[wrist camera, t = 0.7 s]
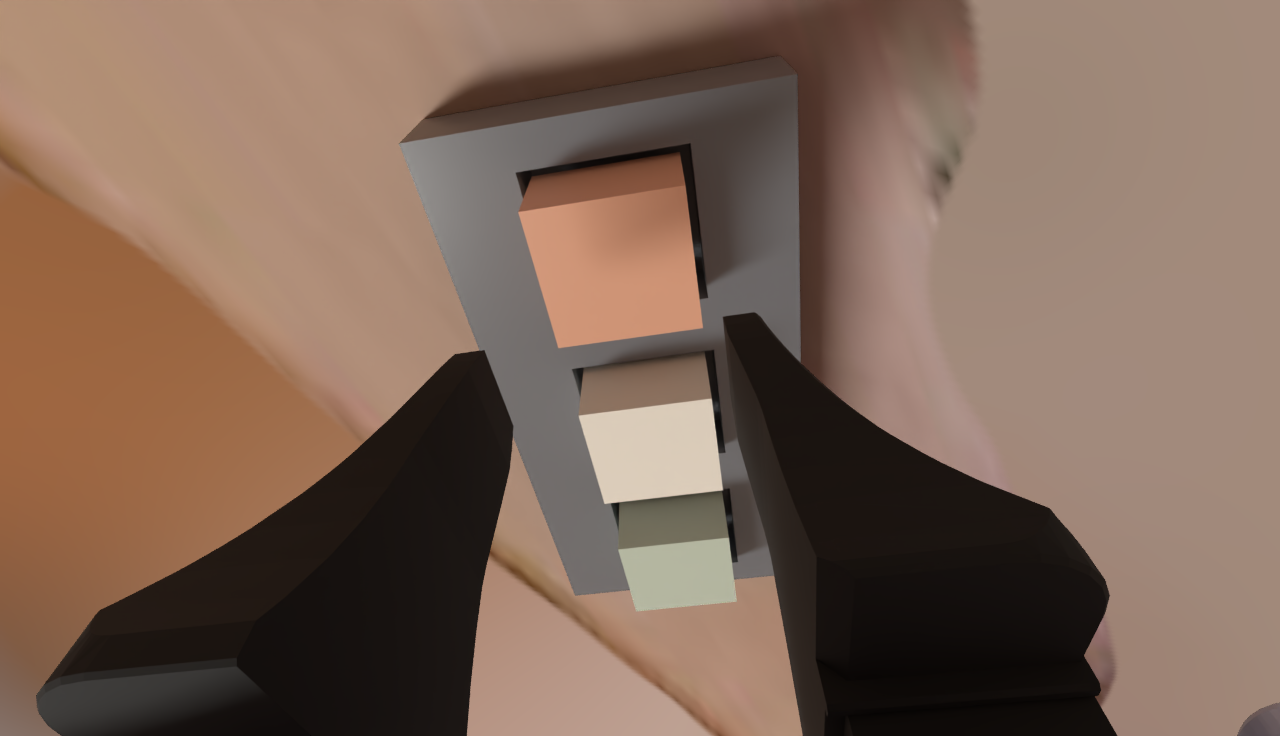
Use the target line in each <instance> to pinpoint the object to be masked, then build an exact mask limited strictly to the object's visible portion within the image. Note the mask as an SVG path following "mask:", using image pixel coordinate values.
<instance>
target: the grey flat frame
mask: <svg viewBox="0 0 1280 736" xmlns="http://www.w3.org/2000/svg"><path fill="white" fill-rule="evenodd" d="M399 145H400V147H401V150H402V153H403V155H404V158H405V160H406V163H407V165H408V168H409V170H410V173H411V176H412V178H413V181H414V183H415V186H416V188H417V191H418V194H419V196H420V199H421V201H422V204H423V206H424V209H425V212H426V214H427V217H428V219H429V222H430V224H431V227H432V229H433V232H434V235H435V237H436V240H437V242H438V245H439V247H440V250H441V253H442V255H443V258H444V260H445V263H446V265H447V268H448V271H449V273H450V276H451V278H452V281H453V283H454V286H455V288H456V291H457V294H458V296H459V299H460V301H461V304H462V306H463V309H464V312H465V314H466V317H467V319H468V322H469V324H470V327H471V329H472V332H473V335H474V337H475V340H476V342H477V345H478V347H479V350H480V351H481V350H485V353H486V356H487V358H488V361H489V363H490V366H491V369H492V371H493V374H494V376H495V379H496V382H497V384H498V387H499V389H500V392H501V395H502V397H503V400H504V402H505V405H506V408H507V410H508V413H509V415H510V418H511V421H512V423H513V426H514V427H513V437H514V440H515V442H516V445H517V447H518V450H519V453H520V455H521V458H522V460H523V463H524V465H525V468H526V471H527V473H528V476H529V478H530V481H531V483H532V486H533V489H534V491H535V494H536V496H537V499H538V501H539V504H540V506H541V509H542V512H543V514H544V517H545V519H546V522H547V524H548V527H549V530H550V532H551V535H552V537H553V540H554V542H555V545H556V547H557V550H558V553H559V555H560V558H561V560H562V563H563V565H564V568H565V571H566V573H567V576H568V578H569V581H570V583H571V586H572V589H573V591H574V594H575V596H576V595H586V594H596V593H606V592H616V591H626V590H630V588H629V585H628V581H627V578H626V575H625V571H624V568H623V564H622V561H621V558H620V554H619V551H618V534H619V502H617V503H608V504H604V500H603V497H602V494H601V490H600V487H599V483H598V480H597V477H596V473H595V470H594V467H593V463H592V460H591V456H590V453H589V450H588V446H587V443H586V439H585V436H584V433H583V429H582V426H581V423H580V419H579V416H578V415H579V406H580V397H581V388H582V379H583V370H584V368H585V367H593V366H600V365H607V364H615V363H622V362H629V361H637V360H644V359H651V358H659V357H666V356H674V355H681V354H688V353H696V352H703V351H704V352H705V358H706V365H707V371H708V378H709V384H710V391H711V397H712V405H713V413H714V421H715V429H716V438H717V446H718V454H719V462H720V470H721V478H722V486H723V490H722V495H723V501H724V508H725V515H726V522H727V529H728V536H729V543H730V551H731V560H732V568H733V576H734V579H744V578H754V577H764V576H774V572H773V566H772V561H771V556H770V552H769V548H768V544H767V540H766V536H765V532H764V529H763V525H762V522H761V518H760V515H759V512H758V508H757V505H756V501H755V498H754V495H753V491H752V488H751V484H750V481H749V478H748V474H747V471H746V467H745V464H744V460H743V457H742V453H741V450H740V446H739V443H738V438H737V432H736V426H735V420H734V415H733V409H732V403H731V395H730V385H729V375H728V365H727V355H726V345H725V335H724V325H723V316H730V315H737V314H745V313H752V312H755V313H757V314H758V315H759V316H761V318H762V319H763V321H764V322H765V323H766V325H767V326H768V327H769V328H770V330H771V331H772V332H773V333H774V334H775V336H776V337H777V338H778V339H779V340H780V341H781V343H782V344H783V345H784V346H785V347H786V348H787V349H788V350H789V351H790V352H791V353H792V355H793V356H794V357H795V358H796V359H797V360H798V361H799V362H800V363H801V340H800V250H799V159H798V74H797V73H796V72H795V71H794V70H793V69H792V68H791V67H790V65H789V64H788V63H787V62H786V61H785V60H784V59H783V58H782V57H781V56H776V57H771V58H765V59H759V60H754V61H748V62H743V63H737V64H731V65H726V66H720V67H714V68H709V69H703V70H698V71H692V72H686V73H681V74H675V75H669V76H664V77H658V78H653V79H647V80H641V81H636V82H630V83H625V84H619V85H613V86H608V87H602V88H596V89H591V90H585V91H580V92H574V93H568V94H563V95H557V96H551V97H546V98H540V99H535V100H529V101H523V102H518V103H512V104H506V105H501V106H495V107H490V108H484V109H478V110H473V111H467V112H461V113H456V114H450V115H445V116H439V117H433V118H428V119H423V120H422V121H421V122H420V123H419V124H418V125H417V126H416V127H415V128H414V129H413V130H412V131H411V132H410V133H409V134H408V135H407V136H406V137H405V138H404V139H403V140H402V141H401V142H400V143H399ZM676 152H680V157H681V163H682V168H683V174H684V180H685V186H686V194H687V202H688V210H689V218H690V226H691V234H692V242H693V251H694V259H695V267H696V275H697V283H698V291H699V299H700V307H701V316H702V324H703V328H700V329H693V330H686V331H678V332H671V333H664V334H657V335H650V336H643V337H635V338H628V339H621V340H614V341H607V342H599V343H592V344H585V345H578V346H571V347H564V348H558V345H557V342H556V338H555V335H554V331H553V328H552V325H551V321H550V318H549V315H548V311H547V308H546V304H545V301H544V298H543V294H542V291H541V288H540V284H539V281H538V277H537V274H536V271H535V267H534V264H533V260H532V257H531V254H530V250H529V247H528V244H527V240H526V237H525V233H524V230H523V227H522V223H521V220H520V217H519V213H518V211H519V209H520V206H521V203H522V201H523V198H524V195H525V193H526V190H527V188H528V185H529V182H530V180H531V177H532V176H538V175H544V174H550V173H556V172H562V171H568V170H574V169H580V168H586V167H592V166H598V165H604V164H610V163H616V162H622V161H628V160H634V159H640V158H646V157H652V156H658V155H664V154H670V153H676Z"/></svg>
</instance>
